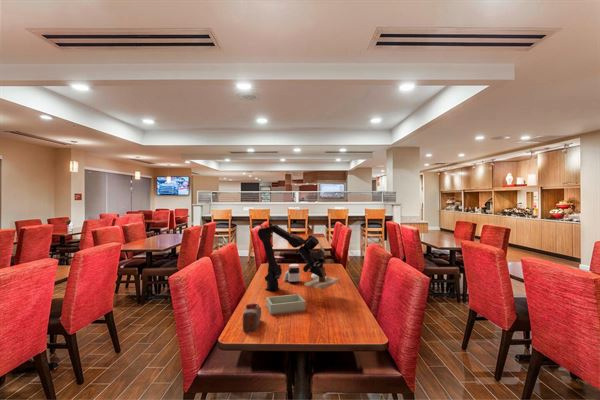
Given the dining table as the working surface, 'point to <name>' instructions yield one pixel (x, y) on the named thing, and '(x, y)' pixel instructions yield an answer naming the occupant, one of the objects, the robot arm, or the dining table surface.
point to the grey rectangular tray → (285, 304)
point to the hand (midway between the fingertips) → (324, 276)
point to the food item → (251, 317)
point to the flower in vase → (324, 252)
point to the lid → (321, 281)
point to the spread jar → (293, 274)
